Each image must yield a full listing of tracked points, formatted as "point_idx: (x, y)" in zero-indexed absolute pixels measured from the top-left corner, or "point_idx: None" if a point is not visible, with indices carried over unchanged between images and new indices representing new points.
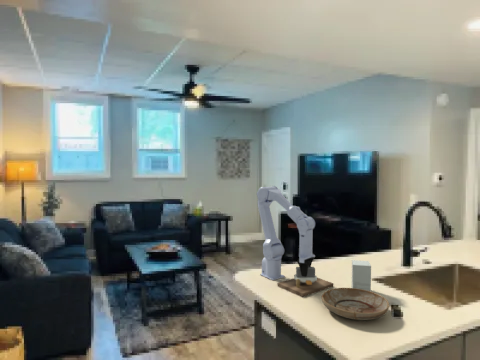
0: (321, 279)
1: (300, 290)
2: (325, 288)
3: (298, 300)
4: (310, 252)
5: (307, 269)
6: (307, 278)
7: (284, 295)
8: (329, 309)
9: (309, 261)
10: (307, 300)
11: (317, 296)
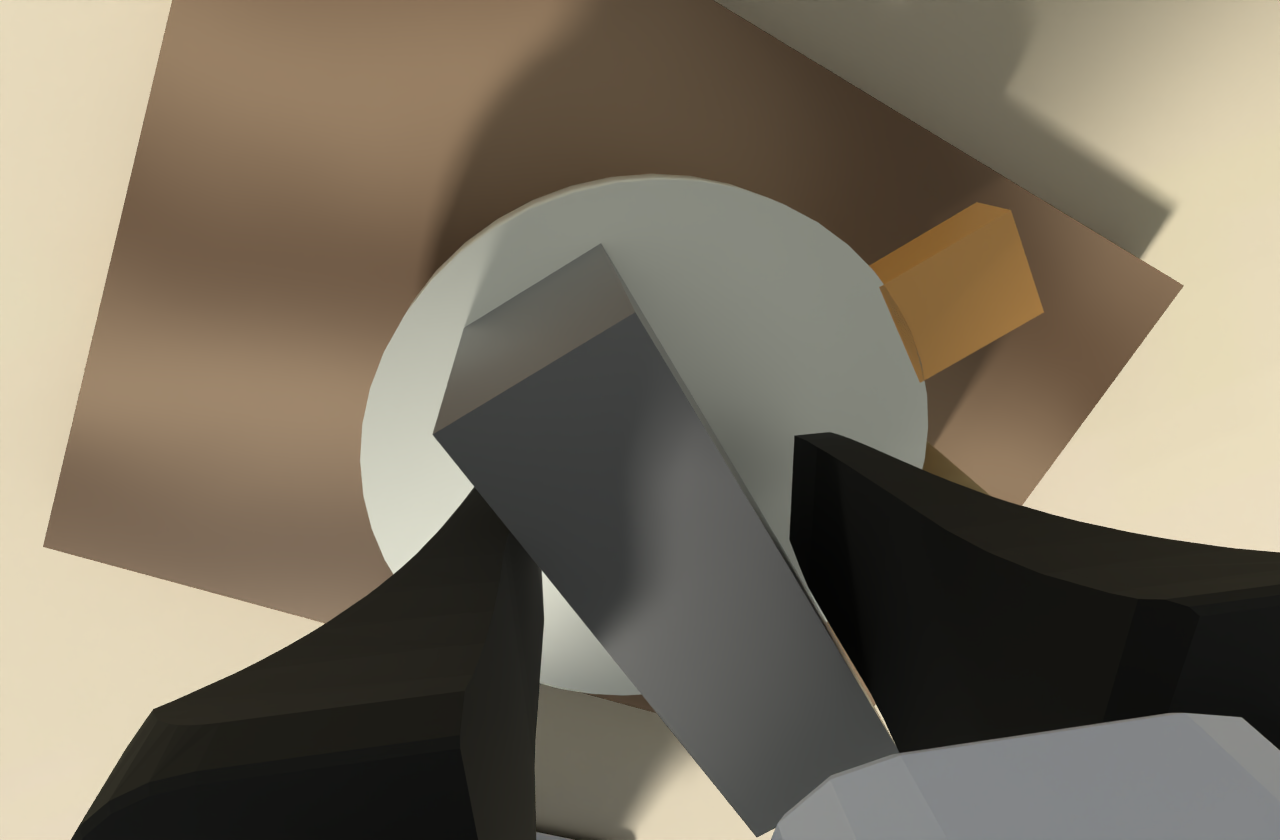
0: (166, 156)
1: (1050, 361)
2: None
3: (1267, 281)
4: None
5: (994, 499)
6: (777, 391)
7: (1118, 519)
8: None
9: (499, 727)
10: (1249, 145)
11: (1036, 16)
